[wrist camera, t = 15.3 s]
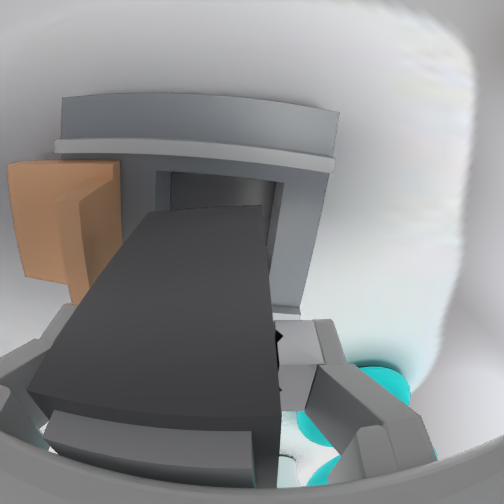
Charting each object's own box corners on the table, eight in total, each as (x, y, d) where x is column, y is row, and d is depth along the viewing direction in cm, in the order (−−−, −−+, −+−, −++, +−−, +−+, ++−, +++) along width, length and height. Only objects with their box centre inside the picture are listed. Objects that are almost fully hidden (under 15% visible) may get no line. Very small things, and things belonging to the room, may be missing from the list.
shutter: (126, 284, 15) (98, 333, 11) (32, 269, 14) (-4, 307, 11) (120, 160, 12) (77, 183, 9) (16, 161, 12) (-34, 184, 8)
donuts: (354, 517, 18) (277, 511, 15) (338, 434, 27) (271, 405, 24) (456, 470, 15) (412, 458, 12) (420, 384, 24) (367, 340, 21)
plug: (264, 300, 12) (276, 520, 5) (167, 303, 13) (107, 504, 5) (261, 205, 11) (285, 455, 3) (148, 211, 11) (11, 417, 3)
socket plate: (285, 310, 19) (291, 350, 16) (101, 289, 19) (79, 323, 15) (323, 110, 14) (343, 113, 11) (91, 96, 13) (55, 98, 10)
